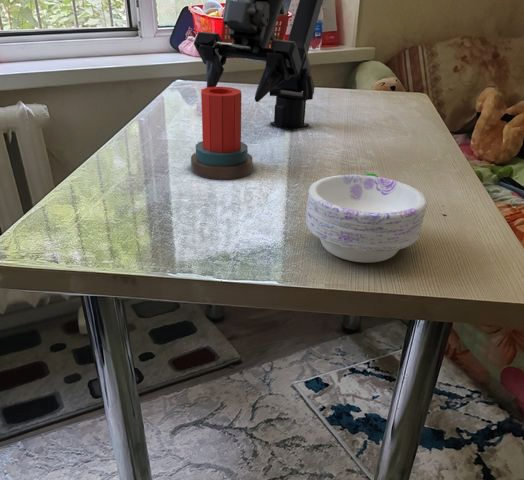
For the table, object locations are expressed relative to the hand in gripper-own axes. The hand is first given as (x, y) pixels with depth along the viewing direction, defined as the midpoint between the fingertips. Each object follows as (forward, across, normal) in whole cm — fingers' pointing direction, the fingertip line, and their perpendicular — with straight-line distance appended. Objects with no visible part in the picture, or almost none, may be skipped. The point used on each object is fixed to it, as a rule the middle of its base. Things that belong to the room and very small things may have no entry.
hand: (232, 97), depth 95 cm
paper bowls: (+24, +31, -8) cm, 40 cm away
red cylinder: (+8, 0, +2) cm, 8 cm away
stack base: (+11, 0, +5) cm, 12 cm away
